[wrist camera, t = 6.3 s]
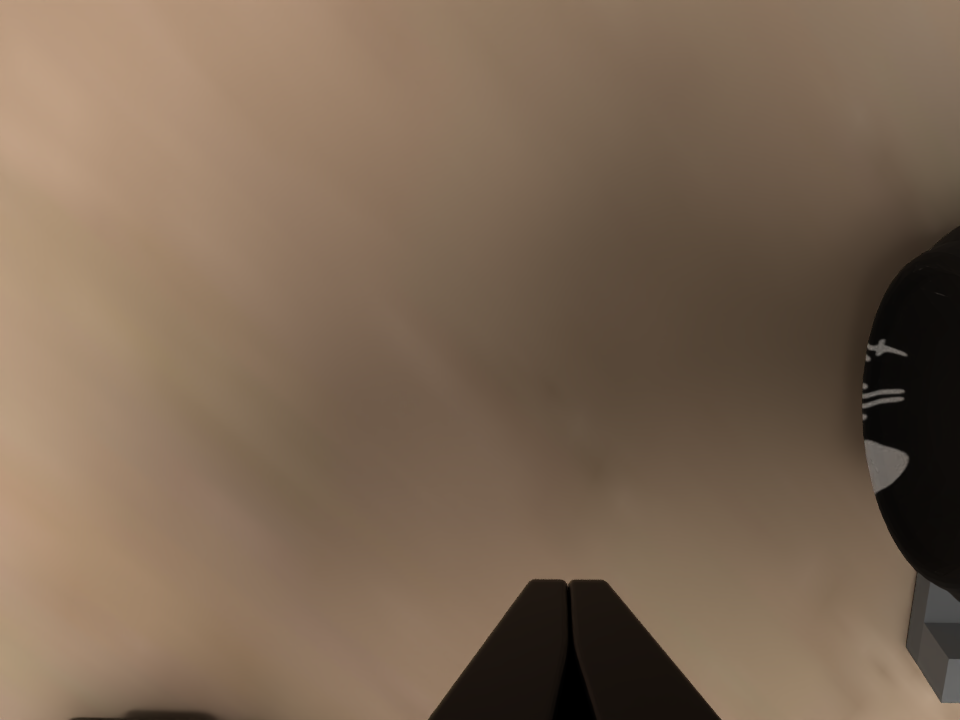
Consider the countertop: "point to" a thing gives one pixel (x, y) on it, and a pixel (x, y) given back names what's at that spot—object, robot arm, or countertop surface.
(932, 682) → the grey tray
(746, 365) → the countertop surface
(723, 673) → the countertop surface
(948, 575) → the beverage can
